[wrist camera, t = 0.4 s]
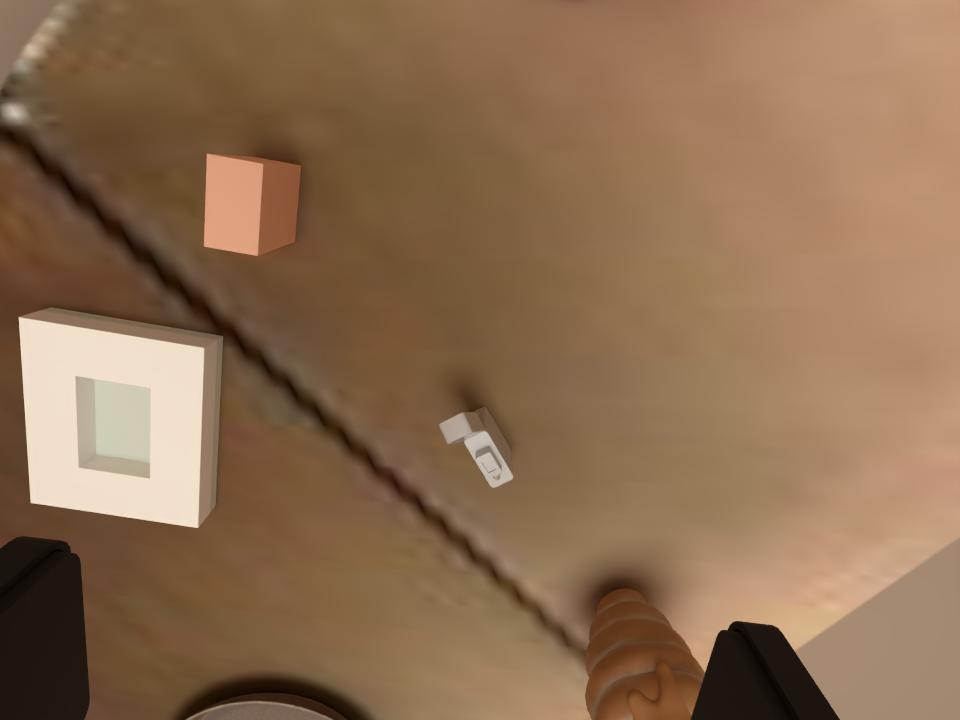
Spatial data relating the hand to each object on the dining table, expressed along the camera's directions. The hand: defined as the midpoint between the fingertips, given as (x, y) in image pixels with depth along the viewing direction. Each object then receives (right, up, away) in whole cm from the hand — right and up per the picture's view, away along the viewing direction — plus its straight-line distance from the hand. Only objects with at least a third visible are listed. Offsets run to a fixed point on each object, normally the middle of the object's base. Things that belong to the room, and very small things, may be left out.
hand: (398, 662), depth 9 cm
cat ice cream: (+13, -15, +40) cm, 45 cm away
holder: (-24, +1, +35) cm, 43 cm away
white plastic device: (+1, 0, +35) cm, 35 cm away
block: (-12, +15, +30) cm, 36 cm away
